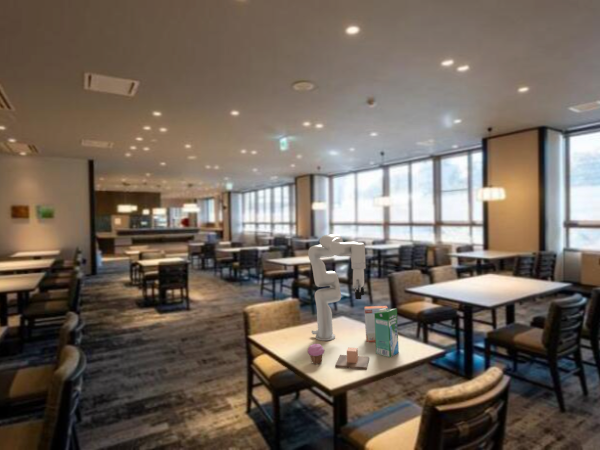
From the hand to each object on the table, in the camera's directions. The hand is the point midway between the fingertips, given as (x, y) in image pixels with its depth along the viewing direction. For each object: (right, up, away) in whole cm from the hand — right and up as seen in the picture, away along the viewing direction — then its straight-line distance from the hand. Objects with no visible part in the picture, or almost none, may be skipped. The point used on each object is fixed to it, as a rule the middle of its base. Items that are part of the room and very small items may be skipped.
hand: (359, 297), depth 195 cm
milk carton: (+17, -33, +6) cm, 37 cm away
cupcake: (-24, -35, -3) cm, 42 cm away
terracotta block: (-5, -33, -5) cm, 33 cm away
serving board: (-5, -34, -5) cm, 35 cm away
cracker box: (+16, -33, +27) cm, 45 cm away
